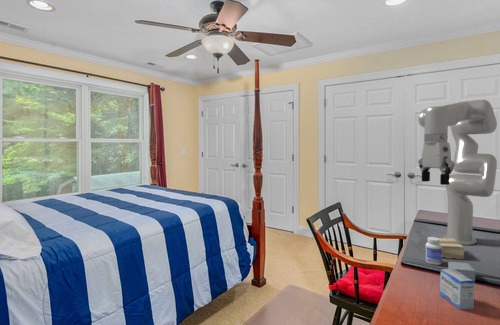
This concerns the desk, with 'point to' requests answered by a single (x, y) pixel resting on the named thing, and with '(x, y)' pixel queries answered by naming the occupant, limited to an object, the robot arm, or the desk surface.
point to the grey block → (463, 269)
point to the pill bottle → (433, 251)
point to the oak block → (451, 248)
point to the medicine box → (457, 289)
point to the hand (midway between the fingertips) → (434, 182)
